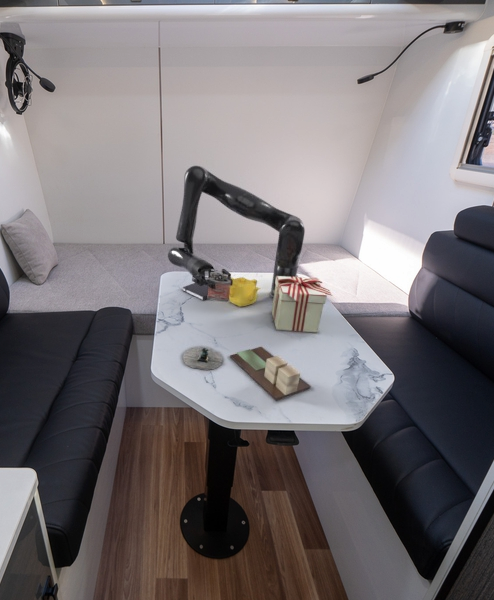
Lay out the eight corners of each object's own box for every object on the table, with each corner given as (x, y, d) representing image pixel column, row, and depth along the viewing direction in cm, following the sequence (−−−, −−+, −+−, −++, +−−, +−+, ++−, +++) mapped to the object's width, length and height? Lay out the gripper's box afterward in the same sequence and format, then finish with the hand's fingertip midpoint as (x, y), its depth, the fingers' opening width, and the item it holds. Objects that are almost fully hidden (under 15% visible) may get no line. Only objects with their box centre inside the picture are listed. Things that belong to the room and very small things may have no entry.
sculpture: (228, 367, 111) (213, 354, 107) (204, 386, 113) (189, 373, 108) (214, 344, 121) (200, 331, 117) (193, 362, 123) (178, 349, 118)
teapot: (259, 297, 156) (262, 274, 151) (258, 311, 144) (260, 286, 140) (226, 293, 158) (228, 271, 154) (222, 306, 147) (224, 282, 143)
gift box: (278, 336, 128) (286, 290, 120) (267, 311, 144) (273, 270, 137) (328, 337, 128) (338, 291, 120) (311, 312, 144) (319, 271, 137)
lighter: (230, 298, 134) (232, 273, 130) (228, 302, 131) (230, 276, 127) (208, 295, 136) (210, 269, 132) (206, 299, 133) (207, 273, 129)
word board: (261, 348, 121) (263, 330, 118) (310, 388, 103) (314, 368, 100) (229, 357, 116) (231, 338, 113) (276, 400, 98) (279, 380, 95)
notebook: (202, 300, 152) (236, 287, 165) (202, 296, 151) (237, 283, 164) (181, 290, 161) (215, 278, 173) (181, 287, 160) (216, 275, 173)
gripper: (183, 262, 138) (205, 278, 124) (216, 256, 144) (241, 271, 130) (182, 280, 141) (204, 298, 128) (215, 274, 147) (239, 291, 133)
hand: (223, 284), depth 129 cm, fingers closed on lighter, 6 cm apart
